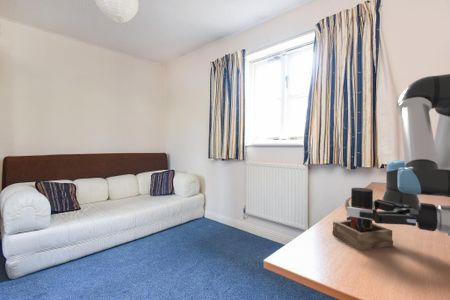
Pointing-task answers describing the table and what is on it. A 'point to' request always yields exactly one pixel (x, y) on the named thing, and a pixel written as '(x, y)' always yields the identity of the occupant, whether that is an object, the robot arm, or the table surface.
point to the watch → (347, 206)
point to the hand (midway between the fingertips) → (349, 206)
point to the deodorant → (364, 201)
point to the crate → (363, 235)
